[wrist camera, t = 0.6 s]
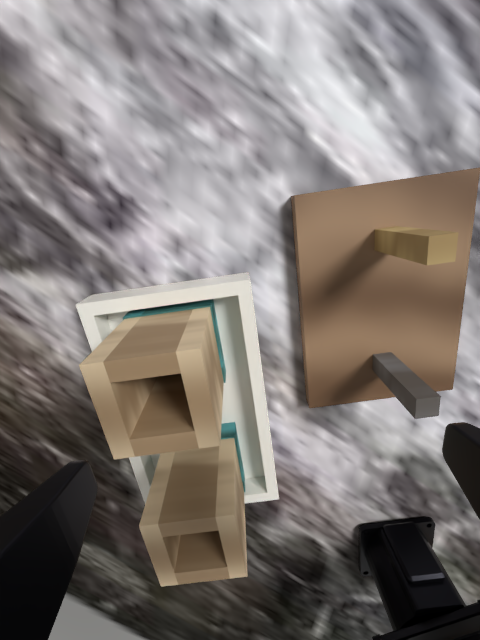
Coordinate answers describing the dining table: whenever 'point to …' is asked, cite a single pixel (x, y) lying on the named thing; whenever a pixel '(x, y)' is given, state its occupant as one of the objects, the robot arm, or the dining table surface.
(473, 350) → the dining table surface
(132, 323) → the oak sleeve
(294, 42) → the dining table surface
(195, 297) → the feeder tray
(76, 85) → the dining table surface
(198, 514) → the sleeve
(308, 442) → the dining table surface
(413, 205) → the pin board
